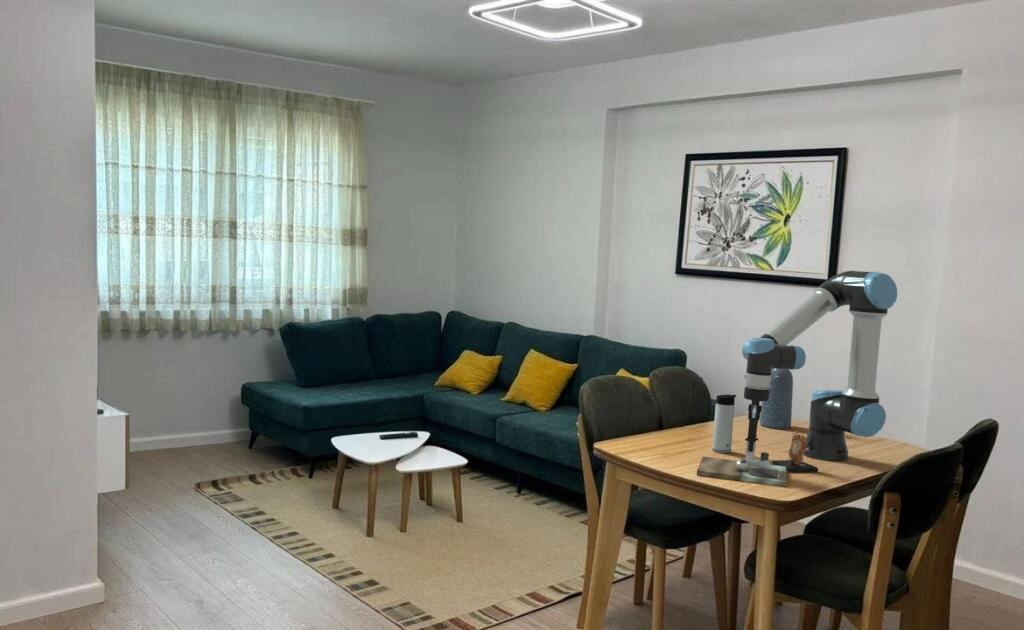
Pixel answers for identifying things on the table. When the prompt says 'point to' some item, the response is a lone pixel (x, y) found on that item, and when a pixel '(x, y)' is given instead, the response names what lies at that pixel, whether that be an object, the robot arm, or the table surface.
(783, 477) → the door board
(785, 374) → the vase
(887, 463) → the table surface
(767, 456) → the bar
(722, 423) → the travel mug
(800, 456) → the figurine
